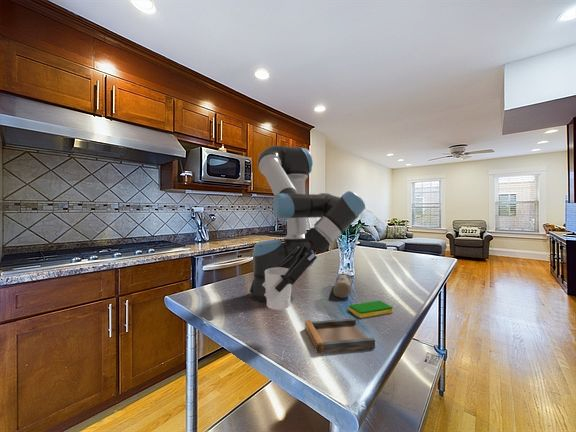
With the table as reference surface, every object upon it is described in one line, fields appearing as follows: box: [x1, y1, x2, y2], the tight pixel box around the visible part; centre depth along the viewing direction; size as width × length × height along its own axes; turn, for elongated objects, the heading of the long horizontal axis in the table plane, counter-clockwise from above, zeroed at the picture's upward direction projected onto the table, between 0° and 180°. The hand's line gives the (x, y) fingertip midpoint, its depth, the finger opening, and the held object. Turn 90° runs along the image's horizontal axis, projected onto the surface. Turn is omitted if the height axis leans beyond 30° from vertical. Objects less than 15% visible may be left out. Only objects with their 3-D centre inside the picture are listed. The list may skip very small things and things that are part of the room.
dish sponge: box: [348, 300, 393, 319], centre depth 93 cm, size 7×14×2 cm, turn 110°
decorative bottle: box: [332, 272, 354, 299], centre depth 118 cm, size 26×8×7 cm, turn 163°
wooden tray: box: [304, 317, 376, 354], centre depth 74 cm, size 16×13×3 cm
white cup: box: [265, 267, 293, 311], centre depth 73 cm, size 8×8×10 cm
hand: (266, 292), depth 73 cm, fingers closed on white cup, 8 cm apart
